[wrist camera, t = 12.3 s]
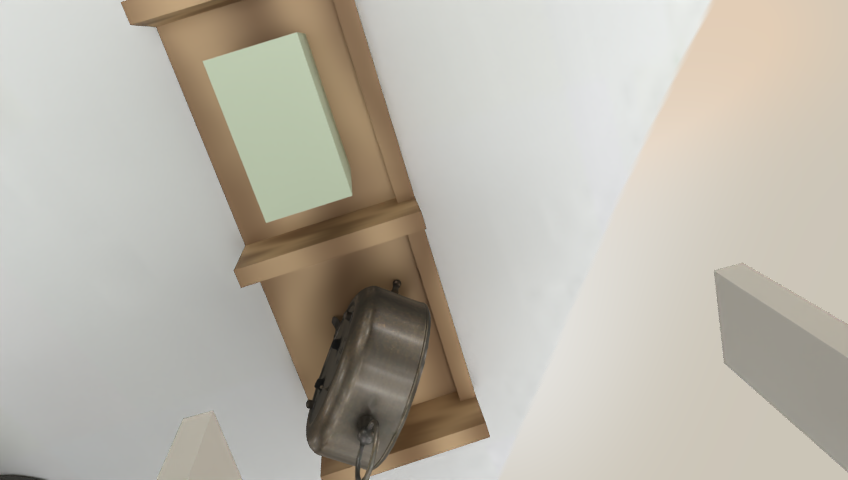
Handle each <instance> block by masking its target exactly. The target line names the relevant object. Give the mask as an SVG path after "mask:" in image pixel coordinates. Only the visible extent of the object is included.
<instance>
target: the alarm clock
mask: <svg viewBox="0 0 848 480" xmlns="http://www.w3.org/2000/svg"><path fill="white" fill-rule="evenodd" d="M400 286H401V282H400V280H394V281H393V288H392V290H391V291H389V290H386V289H384V288H381V287H378V286H369V287H366V288H364V289H363V290H361V291H360V292H359V293H358V294H357V295H356V296H355V297H354V298H353V300H352V301H351V303H350V304H349V306H348V308H347V310H346V311H345V312H344V314H343V318H342V320H341V322H340V321H339V319H338V318H337V317H333V318H332V324H333V326H334V327H335V334H334V338H333V341H332V344H331V346H330V349H329V352H328V354H327V357H326V360H325V362H324V365H323V368H322V371H321V373H320V376H319V378H318V379H317V381H316V383H315V385H314V387H315V388H316V389H315V392H314V396H313V399H312V400H308V401H307V403H306V407H307V408H310V410H309V414H308V419H307V426H306V436H307V441H308V444H309V446H310V448H311V449H312V450H313V451H314V452H315V453H316V454H318V455H320V456H323V457H326V458H330V459H333V460H336V461H339V462H343V463H346V464H349V465H352V466H355V480H369V478H370V475H371V473H372V470H374V469H376V468H377V467H379V466H380V465H381V463H382V462H383V461H384V460H385V459H386V458H387V456H388V455H389V453H390V452H391V450H392V448H393V446H394V444H395V442H396V440H397V438H398V436H399V434H400V432H401V430H402V428H403V425H404V423H405V421H406V418H407V416H408V413H409V411H410V408H411V405H412V402H413V400H414V397H415V394H416V391H417V388H418V385H419V381H420V378H421V375H422V372H423V368H424V365H425V359H426V355H427V350H428V345H429V337H430V328H431V315H430V311H429V308H428V306H427V305H426V304H425V303H423V302H419V301H416V300H413V299H410V298H408V297H405V296H402V295H400V294H398V290H399V287H400ZM360 468H362V469H365V470H366V473H365V475H364V477H363V478H362V479H361V477H360Z"/></svg>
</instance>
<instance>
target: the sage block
mask: <svg viewBox="0 0 848 480" xmlns="http://www.w3.org/2000/svg"><path fill="white" fill-rule="evenodd" d="M203 64H204V66H205V69H206V71H207V74H208V76H209V79H210V81H211V84H212V87H213V89H214V92H215V94H216V97H217V99H218V102H219V104H220V107H221V109H222V112H223V115H224V117H225V120H226V122H227V125H228V127H229V130H230V132H231V135H232V138H233V140H234V143H235V145H236V148H237V150H238V153H239V155H240V158H241V160H242V163H243V166H244V168H245V171H246V173H247V176H248V178H249V181H250V183H251V186H252V189H253V191H254V194H255V196H256V199H257V201H258V204H259V206H260V209H261V211H262V214H263V217H264V219H265V222H266V223H268V222H271V221H274V220H277V219H280V218H284V217H287V216H290V215H293V214H296V213H299V212H303V211H306V210H309V209H312V208H315V207H318V206H322V205H325V204H328V203H331V202H334V201H337V200H341V199H344V198H347V197H350V196H352V181H351V168H350V165H349V162H348V159H347V156H346V153H345V150H344V147H343V144H342V141H341V138H340V135H339V132H338V129H337V126H336V123H335V120H334V117H333V114H332V111H331V108H330V105H329V102H328V99H327V96H326V93H325V90H324V88H323V85H322V82H321V79H320V76H319V73H318V70H317V67H316V64H315V61H314V58H313V55H312V52H311V49H310V46H309V43H308V40H307V37H306V34H304V33H299V32H296V33H293V34H289V35H286V36H283V37H280V38H276V39H273V40H270V41H267V42H263V43H260V44H257V45H254V46H250V47H247V48H244V49H241V50H237V51H234V52H231V53H228V54H224V55H221V56H218V57H215V58H211V59H208V60H205V61H203Z"/></svg>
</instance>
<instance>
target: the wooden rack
mask: <svg viewBox="0 0 848 480" xmlns="http://www.w3.org/2000/svg"><path fill="white" fill-rule="evenodd" d="M121 4H122V6H123V9H124V11H125V13H126V16H127V18H128V21H129V23H130V25H136V26H150V27H156V28H157V30H158V33H159V35H160V38H161V40H162V43H163V45H164V47H165V50H166V52H167V55H168V57H169V60H170V62H171V65H172V67H173V69H174V72H175V74H176V77H177V79H178V82H179V84H180V87H181V89H182V91H183V94H184V96H185V99H186V101H187V104H188V106H189V109H190V111H191V114H192V116H193V118H194V121H195V123H196V126H197V128H198V131H199V133H200V136H201V138H202V140H203V143H204V145H205V148H206V150H207V153H208V155H209V158H210V160H211V163H212V165H213V167H214V170H215V172H216V175H217V177H218V180H219V182H220V185H221V187H222V189H223V192H224V194H225V197H226V199H227V202H228V204H229V207H230V209H231V211H232V214H233V216H234V219H235V221H236V224H237V226H238V229H239V231H240V234H241V236H242V238H243V241H244V243H245V248H244V250H243V252H242V254H241V256H240V258H239V260H238V262H237V265H236V267H235V269H234V273H235V275H236V277H237V280H238V282H239V284H240V287H241V288H242V287H245V286H248V285H252V284H255V283H258V282H261V285H262V287H263V290H264V292H265V295H266V297H267V300H268V302H269V305H270V307H271V309H272V312H273V314H274V317H275V319H276V322H277V324H278V327H279V329H280V331H281V334H282V336H283V339H284V341H285V344H286V346H287V349H288V351H289V353H290V356H291V358H292V361H293V363H294V366H295V368H296V371H297V373H298V376H299V378H300V380H301V383H302V385H303V388H304V390H305V393H306V395H307V398H308V400H312V399H313V396H314V392H315V389H316V388H315V387H314V385H315V383H316V381H317V379H318V378H319V376H320V373H321V371H322V368H323V365H324V362H325V360H326V357H327V354H328V352H329V349H330V346H331V344H332V341H333V338H334V334H335V327H334V326H333V324H332V318H333V317H337V318H338V319H339V321H340V322H341V320H342V318H343V314H344V312H345V311H346V310H347V308H348V306H349V304H350V303H351V301H352V300H353V298H354V297H355V296H356V295H357V294H358V293H359V292H360V291H361V290H363V289H364V288H366V287H369V286H378V287H381V288H384V289H386V290H389V291H391V290H392V288H393V281H394V280H400V282H401V286H400V287H399V290H398V294H400V295H402V296H405V297H408V298H410V299H413V300H416V301H419V302H423V303H425V304H426V305H427V306H428V308H429V311H430V315H431V328H430V337H429V345H428V350H427V355H426V359H425V365H424V368H423V372H422V375H421V378H420V381H419V385H418V388H417V391H416V394H415V397H414V400H413V402H412V405H411V408H410V411H409V413H408V416H407V418H406V421H405V423H404V425H403V428H402V430H401V432H400V434H399V436H398V438H397V440H396V442H395V444H394V446H393V448H392V450H391V452H390V453H389V455H388V456H387V458H386V459H385V460H384V461H383V462H382V463H381V465H380V466H379V467H377V468H376V469H374V470H372V473H371V475H370V476H372V475H376V474H379V473H382V472H385V471H388V470H391V469H394V468H397V467H400V466H403V465H406V464H409V463H412V462H415V461H418V460H421V459H424V458H427V457H430V456H433V455H436V454H440V453H443V452H446V451H449V450H452V449H455V448H458V447H461V446H464V445H467V444H470V443H473V442H476V441H479V440H482V439H485V438H488V437H490V435H489V432H488V429H487V425H486V422H485V420H484V417H483V414H482V412H481V409H480V406H479V404H478V401H477V398H476V395H475V392H474V389H473V386H472V382H471V379H470V376H469V372H468V369H467V366H466V363H465V359H464V356H463V353H462V350H461V346H460V343H459V340H458V337H457V333H456V330H455V327H454V324H453V320H452V317H451V314H450V311H449V307H448V304H447V301H446V298H445V294H444V291H443V288H442V285H441V281H440V278H439V275H438V272H437V268H436V265H435V262H434V259H433V255H432V252H431V249H430V246H429V242H428V239H427V236H426V232H425V229H426V226H425V223H424V220H423V216H422V213H421V210H420V208H419V206H418V204H417V201H416V199H415V197H414V193H413V190H412V187H411V184H410V180H409V177H408V174H407V171H406V167H405V164H404V161H403V158H402V154H401V151H400V148H399V145H398V141H397V138H396V135H395V132H394V128H393V125H392V122H391V119H390V115H389V112H388V109H387V106H386V102H385V99H384V96H383V93H382V89H381V86H380V83H379V79H378V76H377V73H376V70H375V66H374V63H373V60H372V57H371V53H370V50H369V47H368V44H367V40H366V37H365V34H364V31H363V27H362V24H361V21H360V18H359V14H358V11H357V8H356V5H355V1H354V0H126V1H123V2H121ZM296 32H299V33H304V34H306V37H307V40H308V43H309V46H310V49H311V52H312V55H313V58H314V61H315V64H316V67H317V70H318V73H319V76H320V79H321V82H322V85H323V88H324V90H325V93H326V96H327V99H328V102H329V105H330V108H331V111H332V114H333V117H334V120H335V123H336V126H337V129H338V132H339V135H340V138H341V141H342V144H343V147H344V150H345V153H346V156H347V159H348V162H349V165H350V168H351V181H352V196H350V197H347V198H344V199H341V200H337V201H334V202H331V203H328V204H325V205H322V206H318V207H315V208H312V209H309V210H306V211H303V212H299V213H296V214H293V215H290V216H287V217H284V218H280V219H277V220H274V221H271V222H268V223H266V222H265V219H264V217H263V214H262V211H261V209H260V206H259V204H258V201H257V199H256V196H255V194H254V191H253V189H252V186H251V183H250V181H249V178H248V176H247V173H246V171H245V168H244V166H243V163H242V160H241V158H240V155H239V153H238V150H237V148H236V145H235V143H234V140H233V138H232V135H231V132H230V130H229V127H228V125H227V122H226V120H225V117H224V115H223V112H222V109H221V107H220V104H219V102H218V99H217V97H216V94H215V92H214V89H213V87H212V84H211V81H210V79H209V76H208V74H207V71H206V69H205V66H204V64H203V61H205V60H208V59H211V58H215V57H218V56H221V55H224V54H228V53H231V52H234V51H237V50H241V49H244V48H247V47H250V46H254V45H257V44H260V43H263V42H267V41H270V40H273V39H276V38H280V37H283V36H286V35H289V34H293V33H296ZM365 473H366V470H365V469H362V468H360V477H361V479H362V478H363V477H364V475H365ZM321 479H322V480H355V466H352V465H349V464H346V463H343V462H339V461H336V460H333V459H330V458H326V457H323V456H322V458H321Z"/></svg>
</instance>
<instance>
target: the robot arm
mask: <svg viewBox="0 0 848 480" xmlns="http://www.w3.org/2000/svg"><path fill="white" fill-rule="evenodd" d="M714 276H715V285H716V294H717V303H718V312H719V322H720V331H721V340H722V348H723V358H724V363H725V364H726V365H727V366H728V367H729V368H730V369H731V370H733V371H734V372H735V373H736V374H737V375H738V376H739V377H740V378H742V379H743V380H744V381H745V382H746V383H747V384H748V385H749V386H751V387H752V388H753V389H754V390H755V391H756V392H757V393H759V394H760V395H761V396H762V397H763V398H764V399H765V400H766V401H768V402H769V403H770V404H771V405H772V406H773V407H774V408H776V409H777V410H778V411H779V412H780V413H781V414H782V415H783V416H785V417H786V418H787V419H788V420H789V421H790V422H791V423H793V424H794V425H795V426H796V427H797V428H798V429H799V430H800V431H802V432H803V433H804V434H805V435H806V436H807V437H809V438H810V439H811V440H812V441H813V442H814V443H815V444H816V445H817V446H819V447H820V448H821V449H822V450H823V451H824V452H826V453H827V454H828V455H829V456H830V457H831V458H832V459H833V460H835V461H836V462H837V463H838V464H839V465H840V466H841V467H843V468H844V469H845V470H846V471H847V472H848V324H847V323H845V322H843V321H842V320H840V319H838V318H837V317H835V316H833V315H831V314H830V313H828V312H826V311H825V310H823V309H821V308H819V307H818V306H816V305H814V304H813V303H811V302H809V301H807V300H806V299H804V298H802V297H801V296H799V295H797V294H795V293H794V292H792V291H790V290H789V289H787V288H785V287H783V286H782V285H780V284H778V283H777V282H775V281H773V280H771V279H770V278H768V277H766V276H764V275H763V274H761V273H759V272H758V271H756V270H754V269H752V268H751V267H749V266H747V265H746V264H744V263H740V264H736V265H732V266H729V267H725V268H722V269H718V270H714ZM0 480H38V479H33V478H27V477H18V476H0ZM157 480H242V478H241V476H240V473H239V471H238V468H237V466H236V464H235V461H234V459H233V456H232V454H231V452H230V449H229V447H228V445H227V442H226V440H225V437H224V435H223V433H222V430H221V428H220V426H219V423H218V421H217V418H216V416H215V414H214V411H209V412H205V413H202V414H198V415H195V416H191V417H187V418H184V419H183V420H182V423H181V425H180V427H179V430H178V432H177V434H176V436H175V439H174V441H173V443H172V445H171V448H170V450H169V452H168V455H167V457H166V459H165V461H164V464H163V466H162V468H161V471H160V473H159V475H158V477H157Z"/></svg>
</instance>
